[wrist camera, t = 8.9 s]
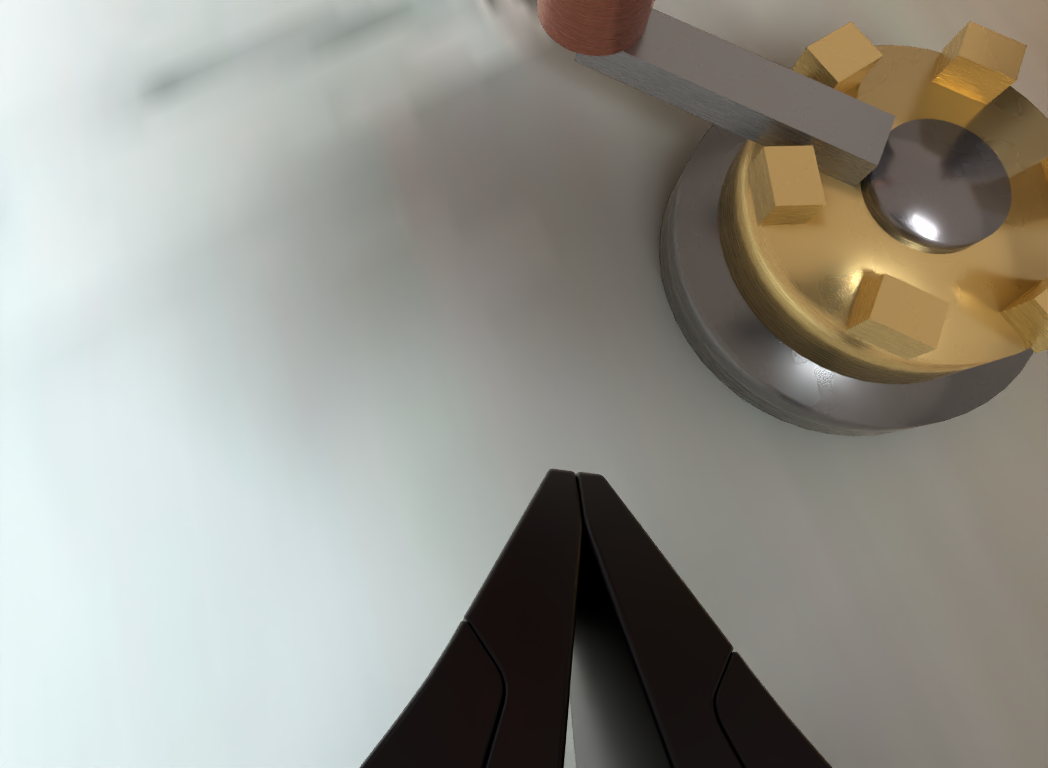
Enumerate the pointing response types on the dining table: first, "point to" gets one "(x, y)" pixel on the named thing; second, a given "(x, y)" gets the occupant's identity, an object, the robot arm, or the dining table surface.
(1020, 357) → the grey round base plate
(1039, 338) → the copper and gold mechanism
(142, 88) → the dining table surface
